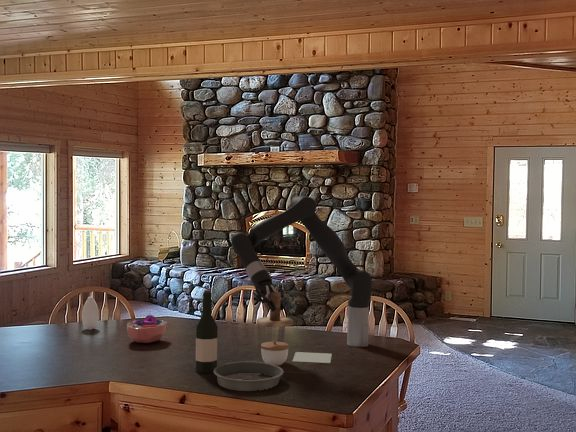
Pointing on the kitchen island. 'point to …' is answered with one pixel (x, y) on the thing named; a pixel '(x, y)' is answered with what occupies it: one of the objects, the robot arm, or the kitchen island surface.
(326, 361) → the mat
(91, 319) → the sauce bottle
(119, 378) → the kitchen island surface
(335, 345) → the kitchen island surface
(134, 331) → the cell model
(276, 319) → the lid
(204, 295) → the wine bottle
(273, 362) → the lidded jar
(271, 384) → the cake pan
